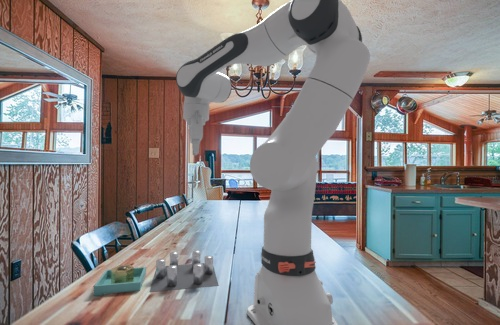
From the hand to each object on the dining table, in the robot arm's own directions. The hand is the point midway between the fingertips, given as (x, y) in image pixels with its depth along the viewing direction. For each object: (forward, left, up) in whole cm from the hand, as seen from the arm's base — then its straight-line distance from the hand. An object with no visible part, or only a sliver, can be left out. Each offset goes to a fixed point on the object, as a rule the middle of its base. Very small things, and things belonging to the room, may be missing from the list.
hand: (195, 154), depth 92 cm
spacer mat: (-11, +3, -37) cm, 39 cm away
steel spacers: (-11, +3, -37) cm, 39 cm away
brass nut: (-13, +20, -36) cm, 44 cm away
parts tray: (-13, +20, -37) cm, 44 cm away
